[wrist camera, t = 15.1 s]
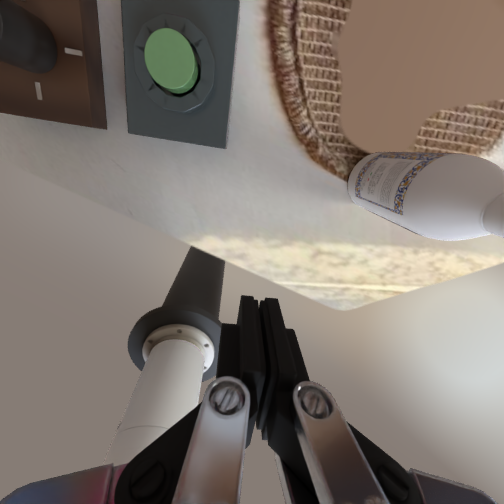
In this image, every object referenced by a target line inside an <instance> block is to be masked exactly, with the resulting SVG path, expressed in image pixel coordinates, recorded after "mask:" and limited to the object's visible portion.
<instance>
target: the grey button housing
mask: <svg viewBox="0 0 504 504" xmlns="http://www.w3.org/2000/svg"><path fill="white" fill-rule="evenodd" d="M121 8H122V27H123V46H124V65H125V84H126V103H127V122H128V133H129V134H136V135H142V136H148V137H154V138H160V139H167V140H173V141H179V142H185V143H192V144H198V145H204V146H210V147H216V148H223V149H227V142H228V132H229V121H230V111H231V101H232V91H233V81H234V70H235V60H236V50H237V40H238V30H239V19H240V1H239V0H121ZM161 28H170V29H174V30H176V31H178V32H179V33H181V34H182V35H183V36H184V37H185V38H186V39H187V41H188V42H189V44H190V46H191V48H192V50H193V52H194V54H195V57H196V59H197V63H198V76H197V80H196V82H195V84H194V86H193V87H192V88H191V89H190V90H189V91H187V92H185V93H181V94H176V93H172V92H169V91H167V90H166V89H165V88H163V87H162V86H161V85H160V84H158V83H157V82H156V81H155V80H154V79H153V78H152V76H151V75H150V73H149V71H148V69H147V67H146V63H145V57H144V50H145V45H146V42H147V40H148V38H149V36H150V35H151V34H152V33H153V32H154V31H156V30H158V29H161Z"/></svg>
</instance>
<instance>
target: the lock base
mask: <svg viewBox="0 0 504 504" xmlns="http://www.w3.org/2000/svg"><path fill="white" fill-rule="evenodd" d="M12 1H14V2H15V3H17V4H18V5H20V6H21V7H23V8H24V9H26V10H27V11H29V12H30V13H32V14H33V15H35V16H36V17H38V18H39V19H40V20H41V21H43V22H44V24H45V25H46V26H47V27H48V28H49V30H50V32H51V33H52V35H53V37H54V40H55V42H56V46H57V60H56V63H55V65H54V67H53V68H52V69H51V70H50V71H48V72H46V73H42V74H37V73H32V72H29V71H27V70H24V69H21V68H18V67H16V66H13V65H10V64H8V63H5V62H2V61H0V113H6V114H12V115H18V116H24V117H30V118H37V119H43V120H49V121H55V122H61V123H68V124H74V125H80V126H86V127H92V128H99V129H106V130H107V121H106V109H105V97H104V85H103V73H102V61H101V49H100V37H99V25H98V13H97V1H96V0H12Z"/></svg>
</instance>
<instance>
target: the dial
mask: <svg viewBox="0 0 504 504" xmlns="http://www.w3.org/2000/svg"><path fill="white" fill-rule="evenodd" d="M56 60H57V46H56V42H55V40H54V37H53V35H52V33H51V32H50V30H49V28H48V27H47V26H46V25H45V24H44V22H43V21H41V20H40V19H39V18H38V17H36V16H35V15H33V14H32V13H30V12H29V11H27V10H26V9H24V8H23V7H21V6H20V5H18V4H17V3H15V2H14V1H12V0H0V61H2V62H5V63H8V64H10V65H13V66H16V67H18V68H21V69H24V70H27V71H29V72H32V73H37V74H42V73H46V72H48V71H50V70H51V69H52V68H53V67H54V65H55V63H56Z"/></svg>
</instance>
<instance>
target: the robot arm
mask: <svg viewBox="0 0 504 504" xmlns="http://www.w3.org/2000/svg"><path fill="white" fill-rule="evenodd" d="M142 353H143V358H144V360H145V362H146V364H145V366H144V368H143V370H142V373H141V375H140V377H139V380H138V382H137V384H136V387H135V389H134V391H133V394H132V396H131V398H130V401H129V403H128V405H127V407H126V410H125V412H124V414H123V417H122V419H121V421H120V424H119V426H118V428H117V431H116V433H115V435H114V438H113V440H112V442H111V444H110V447H109V449H108V452H107V454H106V457H105V460H104V464H103V466H99V467H95V468H91V469H87V470H83V471H78V472H74V473H70V474H66V475H62V476H58V477H54V478H50V479H46V480H41V481H37V482H33V483H30V484H27V485H25V486H22V487H20V488H17V489H16V490H14V491H13V492H12V493H10V494H9V495H7V496H6V497H5V498H3V499H2V500H1V501H0V504H239V503H240V493H241V483H242V475H243V465H244V456H245V449H246V448H247V447H248V446H249V444H250V441H251V437H252V433H253V429H254V425H255V421H256V427H257V429H261V432H262V440H268V445H269V446H270V447H271V448H272V449H273V450H274V451H275V461H276V466H277V470H278V474H279V478H280V482H281V486H282V491H283V495H284V499H285V503H286V504H497V503H496V502H495V501H494V500H493V499H492V498H491V497H490V496H488V495H487V494H485V493H484V492H483V491H481V490H479V489H477V488H474V487H472V486H469V485H465V484H462V483H459V482H455V481H452V480H449V479H445V478H442V477H439V476H435V475H432V474H429V473H425V472H422V471H419V470H415V469H412V468H410V470H409V471H406V470H405V469H404V468H402V466H400V465H399V463H398V462H396V461H395V460H394V459H393V458H391V457H390V456H389V455H388V454H386V453H385V452H384V451H383V450H381V449H380V448H379V447H378V446H376V445H375V444H374V443H373V442H371V441H370V440H369V439H368V438H366V437H365V436H364V435H363V434H362V433H360V432H359V431H358V430H357V429H355V428H354V427H353V426H352V425H350V424H349V423H348V422H347V421H346V420H345V418H344V416H343V414H342V412H341V410H340V409H339V406H338V405H337V403H336V401H335V399H334V398H333V396H332V394H331V393H330V392H329V391H328V390H327V389H326V388H325V387H323V386H322V385H320V384H318V383H316V382H313V381H310V380H309V377H308V373H307V370H306V367H305V364H304V361H303V357H302V354H301V351H300V348H299V344H298V341H297V337H296V335H295V332H294V330H293V329H286V328H285V325H284V321H283V317H282V313H281V309H280V306H279V302H278V299H276V298H265V300H264V301H263V300H261V301H260V305H259V306H258V300H254V297H253V296H244V295H242V296H241V300H240V306H239V313H238V319H237V324H225V323H222V327H221V335H220V344H219V353H218V363H217V373H216V380H214V381H212V382H211V383H210V384H209V385H208V387H207V389H206V391H205V394H204V397H203V400H202V402H201V403H200V404H199V405H198V399H199V393H200V387H201V381H202V375H203V373H204V372H205V371H207V370H208V368H209V367H210V366H211V364H212V362H213V359H214V346H213V343H212V341H211V340H210V338H209V337H208V336H207V335H206V334H205V333H204V332H202V331H201V330H199V329H197V328H195V327H192V326H189V325H183V324H170V325H165V326H162V327H159V328H158V329H156V330H154V331H153V332H152V333H151V334H149V336H148V337H147V339H146V341H145V343H144V345H143V349H142Z"/></svg>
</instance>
